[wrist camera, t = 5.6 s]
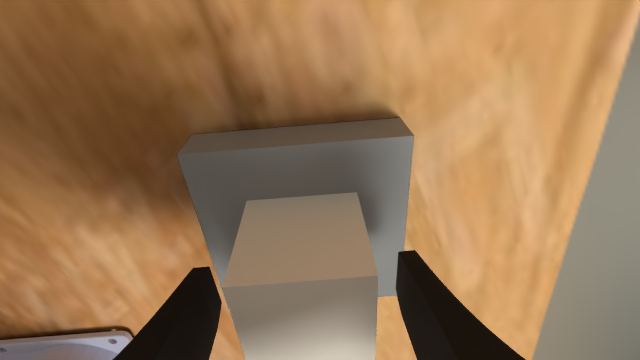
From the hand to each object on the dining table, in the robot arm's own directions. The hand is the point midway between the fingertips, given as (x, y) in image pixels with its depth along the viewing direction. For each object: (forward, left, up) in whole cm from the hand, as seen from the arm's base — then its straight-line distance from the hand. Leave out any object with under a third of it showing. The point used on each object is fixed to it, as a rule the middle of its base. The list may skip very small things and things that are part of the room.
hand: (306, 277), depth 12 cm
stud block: (0, 0, -4) cm, 4 cm away
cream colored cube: (0, 0, -2) cm, 2 cm away
